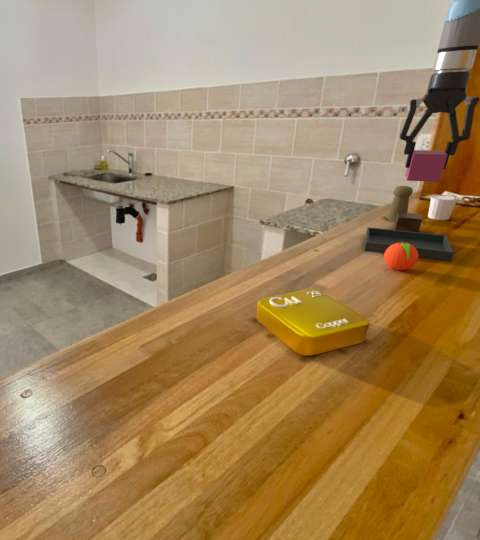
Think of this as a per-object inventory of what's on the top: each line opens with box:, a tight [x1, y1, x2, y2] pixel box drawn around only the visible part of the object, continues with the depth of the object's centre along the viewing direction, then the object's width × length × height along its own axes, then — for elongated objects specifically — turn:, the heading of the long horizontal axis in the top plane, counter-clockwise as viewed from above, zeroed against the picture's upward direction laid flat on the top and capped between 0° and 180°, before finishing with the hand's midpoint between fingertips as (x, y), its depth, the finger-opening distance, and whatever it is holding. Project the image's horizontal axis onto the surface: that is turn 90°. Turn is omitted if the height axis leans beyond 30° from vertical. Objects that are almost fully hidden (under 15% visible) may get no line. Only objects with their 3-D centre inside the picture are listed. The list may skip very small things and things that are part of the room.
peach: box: [383, 242, 419, 271], centre depth 95 cm, size 8×7×7 cm
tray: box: [363, 227, 454, 262], centre depth 108 cm, size 19×14×3 cm
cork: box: [385, 185, 414, 221], centre depth 130 cm, size 6×6×11 cm
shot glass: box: [427, 195, 458, 221], centre depth 129 cm, size 7×7×7 cm
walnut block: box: [393, 212, 423, 233], centre depth 120 cm, size 6×6×5 cm
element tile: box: [255, 288, 370, 357], centre depth 74 cm, size 15×15×5 cm
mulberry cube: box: [404, 149, 448, 183], centre depth 102 cm, size 7×7×7 cm
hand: (424, 167), depth 102 cm, fingers closed on mulberry cube, 7 cm apart
